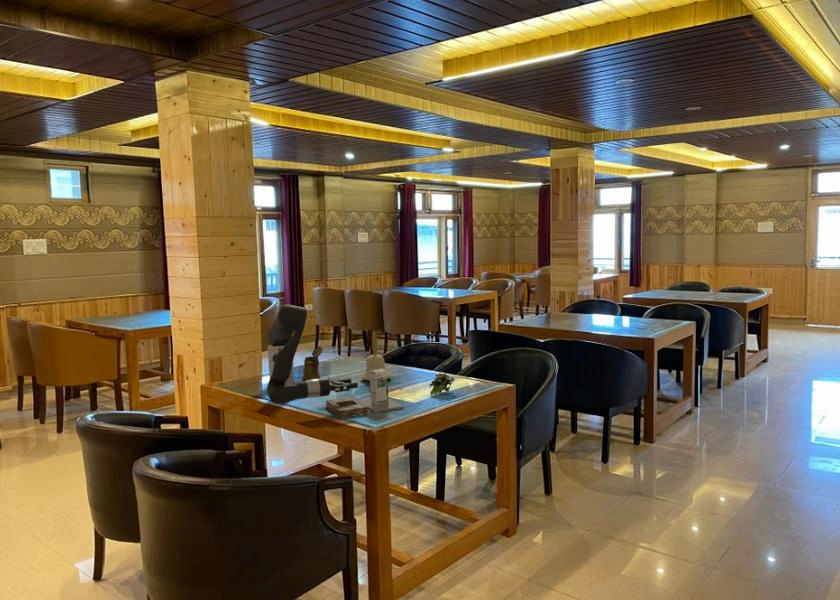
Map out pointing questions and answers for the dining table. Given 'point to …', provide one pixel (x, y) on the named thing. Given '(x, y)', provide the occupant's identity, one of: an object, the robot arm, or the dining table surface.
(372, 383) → the syrup box
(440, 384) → the green leafy plant
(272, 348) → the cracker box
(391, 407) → the slate tile
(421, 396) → the dining table surface
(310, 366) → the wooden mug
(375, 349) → the handbell
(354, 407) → the pocket block
